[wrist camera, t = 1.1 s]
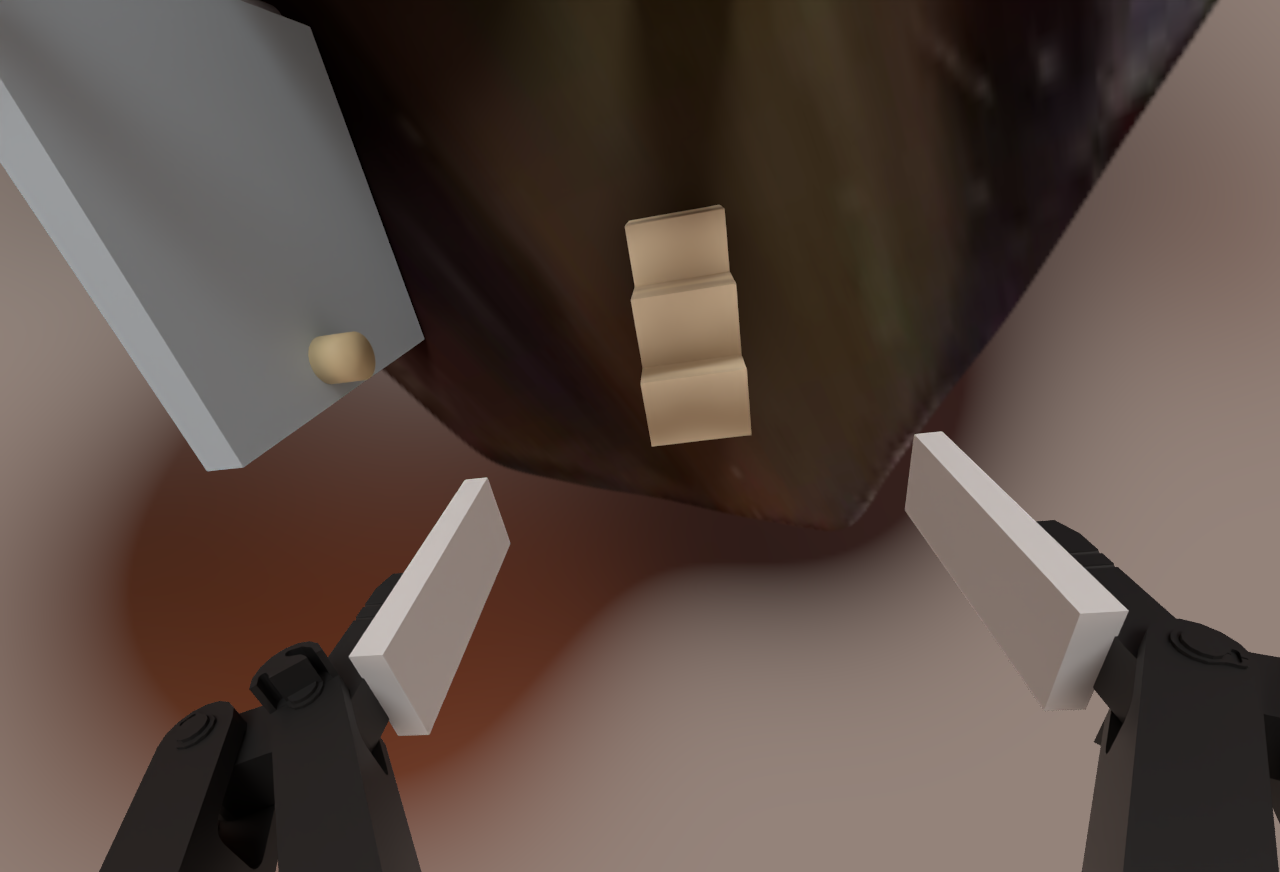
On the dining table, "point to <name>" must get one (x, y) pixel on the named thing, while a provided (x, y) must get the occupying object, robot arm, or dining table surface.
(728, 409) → the toy staircase
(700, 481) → the dining table surface
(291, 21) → the door
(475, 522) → the robot arm
